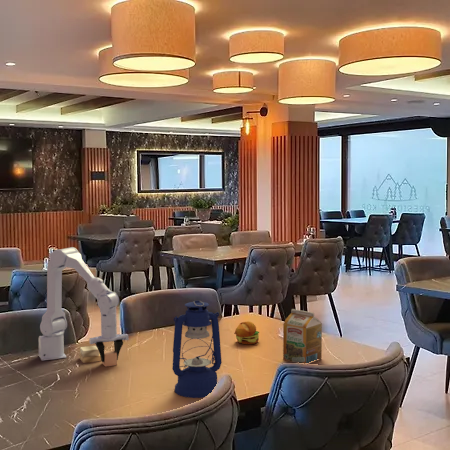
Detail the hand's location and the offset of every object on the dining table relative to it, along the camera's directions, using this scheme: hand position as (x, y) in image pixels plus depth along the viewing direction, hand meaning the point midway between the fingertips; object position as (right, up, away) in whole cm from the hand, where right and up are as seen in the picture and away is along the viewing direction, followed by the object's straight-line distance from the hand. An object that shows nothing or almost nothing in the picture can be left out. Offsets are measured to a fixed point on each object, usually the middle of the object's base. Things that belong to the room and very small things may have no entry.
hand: (109, 360), depth 232 cm
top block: (-9, +1, +6) cm, 11 cm away
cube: (0, -1, 0) cm, 1 cm away
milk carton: (+74, -1, +6) cm, 74 cm away
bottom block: (-9, -2, +6) cm, 11 cm away
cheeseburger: (+53, +1, +30) cm, 61 cm away
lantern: (+35, -4, -28) cm, 45 cm away
